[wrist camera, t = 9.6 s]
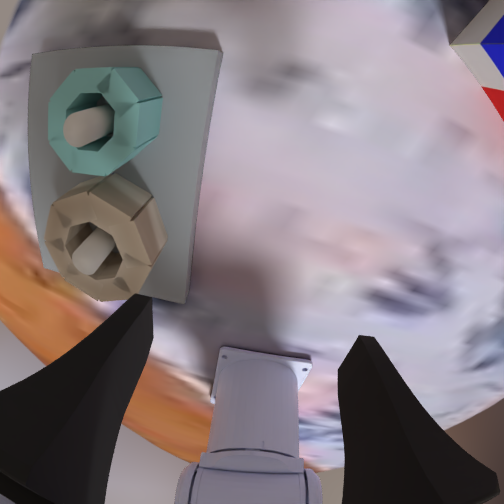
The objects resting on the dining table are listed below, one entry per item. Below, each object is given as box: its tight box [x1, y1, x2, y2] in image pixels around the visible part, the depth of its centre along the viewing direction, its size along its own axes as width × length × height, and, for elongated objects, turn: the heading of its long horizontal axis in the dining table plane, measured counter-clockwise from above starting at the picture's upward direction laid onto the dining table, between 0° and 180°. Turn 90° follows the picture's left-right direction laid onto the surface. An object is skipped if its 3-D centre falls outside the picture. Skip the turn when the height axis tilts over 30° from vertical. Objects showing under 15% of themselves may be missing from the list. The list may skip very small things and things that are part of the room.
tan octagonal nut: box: [44, 172, 168, 302], centre depth 17 cm, size 7×7×3 cm
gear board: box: [28, 45, 223, 304], centre depth 15 cm, size 16×12×6 cm
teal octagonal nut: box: [48, 67, 163, 176], centre depth 13 cm, size 5×5×3 cm
